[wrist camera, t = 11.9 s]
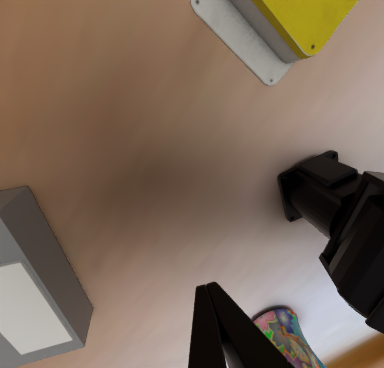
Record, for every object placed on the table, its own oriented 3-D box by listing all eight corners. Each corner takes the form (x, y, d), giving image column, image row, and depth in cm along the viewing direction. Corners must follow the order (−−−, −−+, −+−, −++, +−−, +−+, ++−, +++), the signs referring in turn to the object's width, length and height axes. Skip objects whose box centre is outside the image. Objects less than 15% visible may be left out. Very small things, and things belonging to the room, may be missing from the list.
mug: (292, 330, 36) (345, 416, 27) (242, 346, 35) (279, 442, 25) (300, 283, 31) (370, 371, 21) (241, 301, 29) (287, 402, 20)
